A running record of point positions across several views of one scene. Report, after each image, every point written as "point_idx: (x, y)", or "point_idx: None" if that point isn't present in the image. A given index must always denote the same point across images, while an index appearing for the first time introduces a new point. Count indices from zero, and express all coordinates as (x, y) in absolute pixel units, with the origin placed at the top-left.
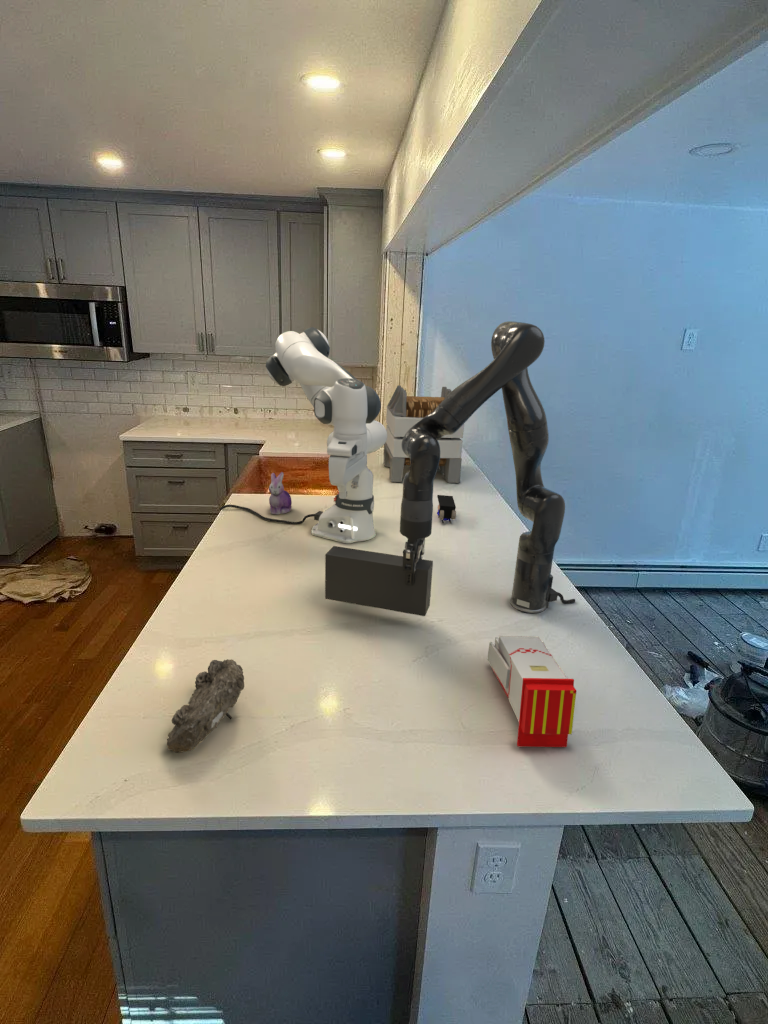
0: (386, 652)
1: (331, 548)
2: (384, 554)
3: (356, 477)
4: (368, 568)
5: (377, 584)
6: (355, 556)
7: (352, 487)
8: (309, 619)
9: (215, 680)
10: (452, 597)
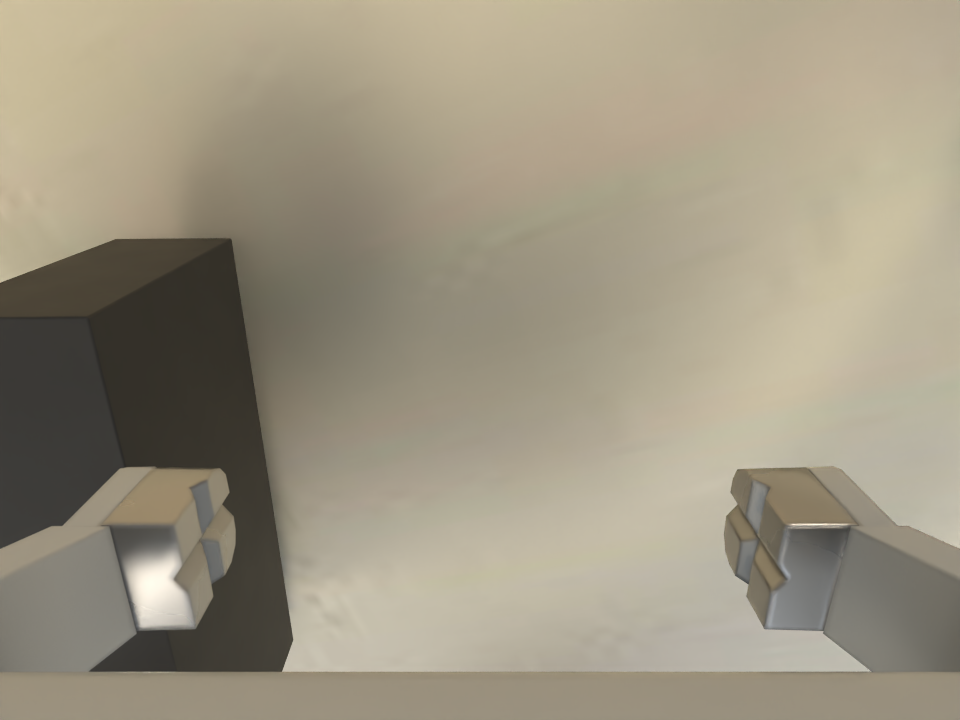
0: None
1: (31, 322)
2: (154, 649)
3: (935, 654)
4: None
5: None
6: (16, 515)
7: (741, 490)
8: (77, 173)
9: None
10: (518, 628)
